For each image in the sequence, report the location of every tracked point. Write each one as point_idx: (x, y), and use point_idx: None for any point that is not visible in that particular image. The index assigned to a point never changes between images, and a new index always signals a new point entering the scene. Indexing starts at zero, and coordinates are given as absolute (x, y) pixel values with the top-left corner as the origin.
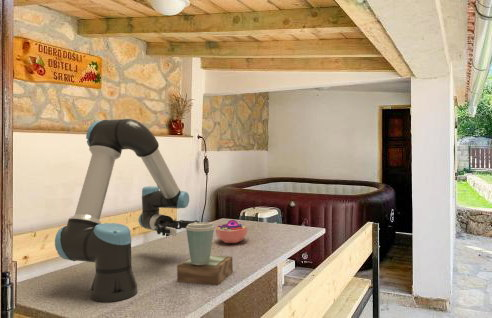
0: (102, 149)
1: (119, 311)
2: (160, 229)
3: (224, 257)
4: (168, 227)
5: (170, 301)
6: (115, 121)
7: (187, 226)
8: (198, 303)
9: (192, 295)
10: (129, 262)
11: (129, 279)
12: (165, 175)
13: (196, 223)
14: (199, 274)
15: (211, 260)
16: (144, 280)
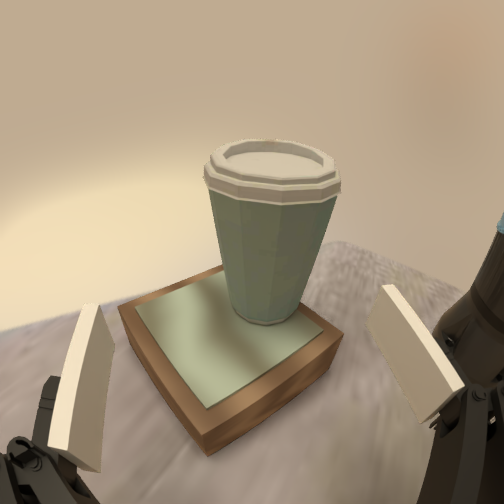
0: None
1: (440, 284)
2: (487, 388)
3: (152, 303)
4: (442, 361)
5: (364, 278)
6: None
7: (336, 174)
8: (318, 253)
9: (318, 279)
10: (477, 274)
11: (458, 300)
12: None
13: (274, 174)
14: None
15: (213, 303)
16: None
